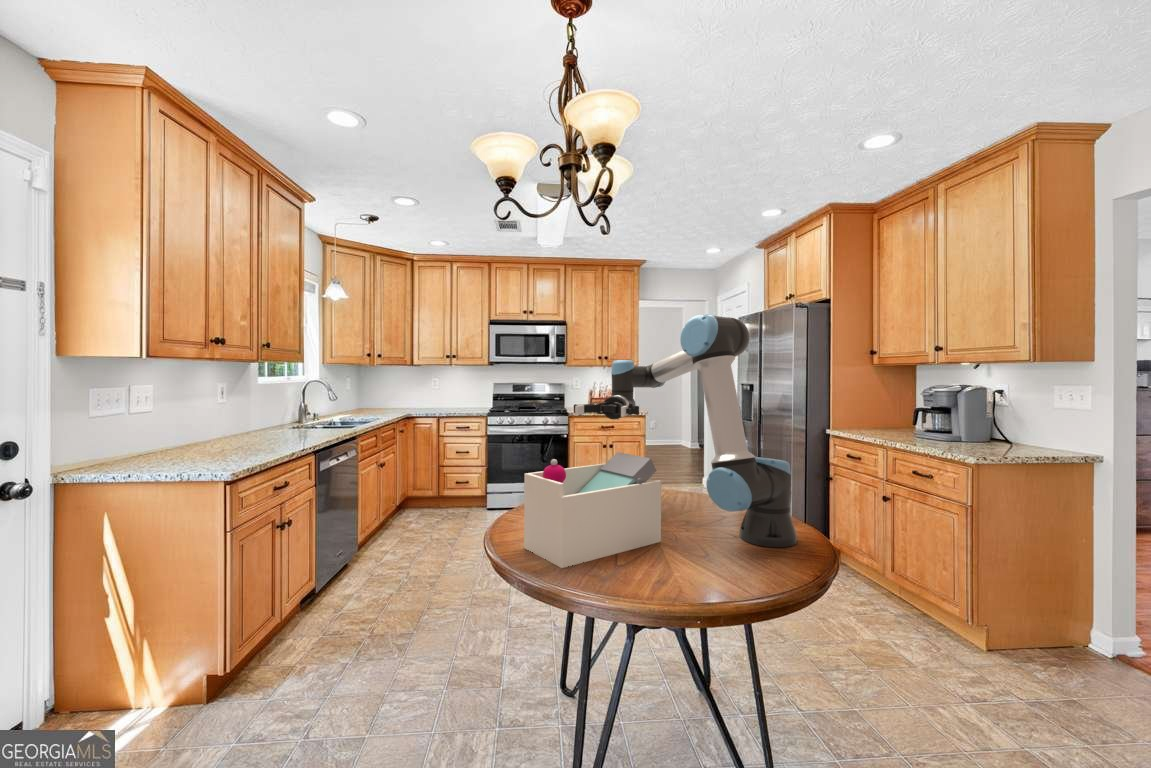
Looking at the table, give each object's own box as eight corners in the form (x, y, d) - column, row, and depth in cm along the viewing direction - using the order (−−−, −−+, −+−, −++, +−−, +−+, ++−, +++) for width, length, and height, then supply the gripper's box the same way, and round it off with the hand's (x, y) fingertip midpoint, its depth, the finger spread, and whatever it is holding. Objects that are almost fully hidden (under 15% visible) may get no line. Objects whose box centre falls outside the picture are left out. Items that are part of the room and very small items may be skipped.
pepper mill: (550, 542, 128) (548, 464, 126) (537, 533, 134) (534, 458, 132) (575, 535, 131) (573, 459, 130) (561, 527, 138) (559, 454, 136)
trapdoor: (656, 470, 143) (650, 458, 141) (605, 523, 132) (598, 510, 131) (623, 463, 154) (617, 452, 153) (573, 511, 143) (566, 499, 142)
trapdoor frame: (662, 542, 141) (662, 470, 141) (563, 569, 121) (564, 485, 121) (617, 526, 156) (617, 461, 156) (522, 547, 136) (523, 473, 136)
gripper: (654, 419, 162) (642, 425, 142) (579, 417, 170) (557, 422, 149) (654, 396, 162) (642, 398, 142) (579, 395, 169) (558, 397, 149)
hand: (598, 411), depth 145 cm, fingers open, 13 cm apart
